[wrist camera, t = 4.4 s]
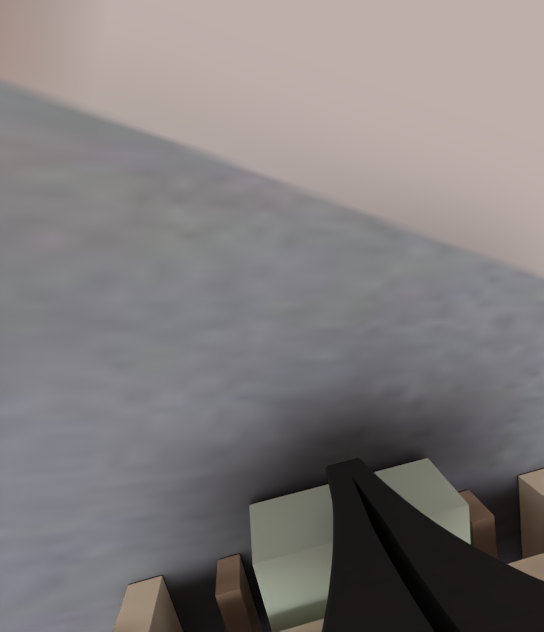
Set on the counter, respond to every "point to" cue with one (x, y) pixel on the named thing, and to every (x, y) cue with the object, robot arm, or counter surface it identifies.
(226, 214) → the counter surface
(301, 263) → the counter surface
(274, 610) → the pale green slab
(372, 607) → the robot arm
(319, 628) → the overhang shelf
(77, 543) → the counter surface
